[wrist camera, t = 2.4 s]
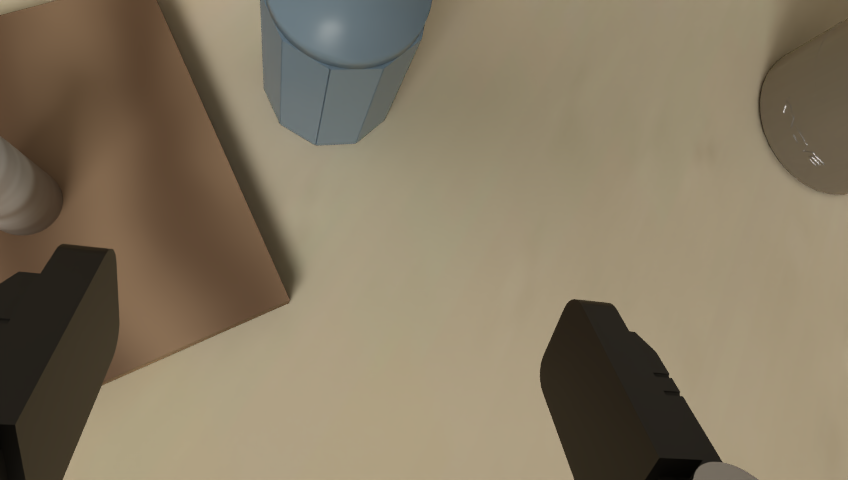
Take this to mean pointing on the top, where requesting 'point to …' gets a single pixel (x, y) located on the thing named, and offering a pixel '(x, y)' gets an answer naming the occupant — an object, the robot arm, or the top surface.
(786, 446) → the top surface
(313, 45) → the blue-grey rounded cylinder
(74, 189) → the post dock
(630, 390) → the robot arm
